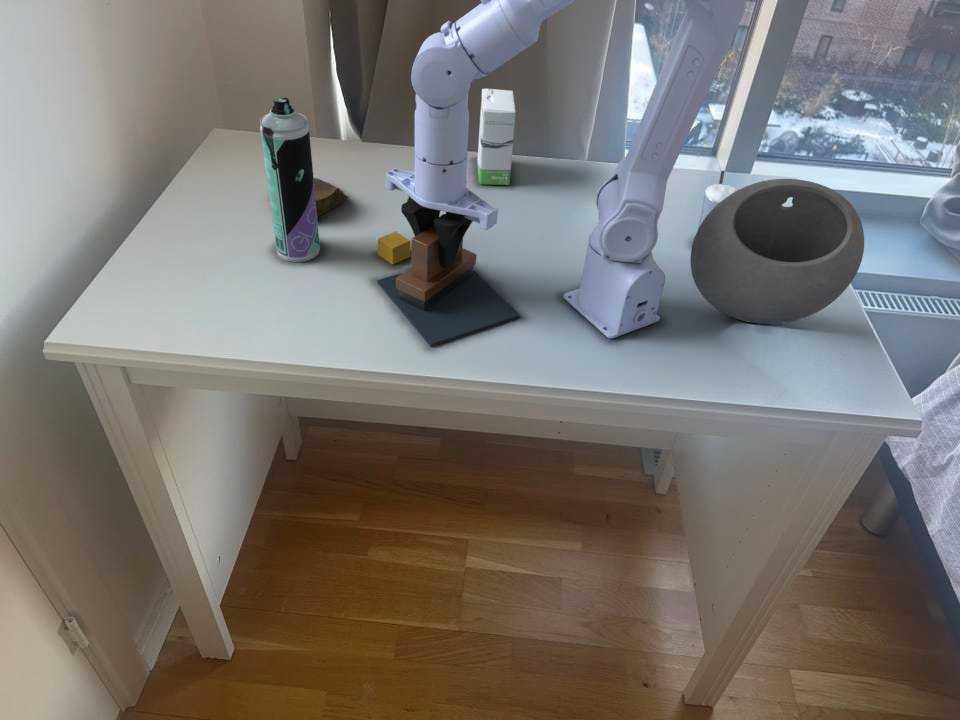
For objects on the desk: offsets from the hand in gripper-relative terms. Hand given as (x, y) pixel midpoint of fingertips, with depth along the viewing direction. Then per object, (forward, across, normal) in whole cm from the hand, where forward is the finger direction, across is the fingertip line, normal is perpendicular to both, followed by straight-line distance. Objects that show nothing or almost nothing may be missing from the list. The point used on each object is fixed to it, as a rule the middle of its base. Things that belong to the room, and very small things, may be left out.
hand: (438, 259), depth 89 cm
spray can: (+4, +19, +5) cm, 20 cm away
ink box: (+5, +12, -30) cm, 33 cm away
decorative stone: (+4, +27, -5) cm, 28 cm away
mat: (+4, -2, +1) cm, 5 cm away
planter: (+5, -34, -20) cm, 39 cm away
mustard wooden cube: (+4, +9, -2) cm, 10 cm away
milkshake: (+5, -22, -33) cm, 40 cm away
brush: (+4, 0, 0) cm, 4 cm away
